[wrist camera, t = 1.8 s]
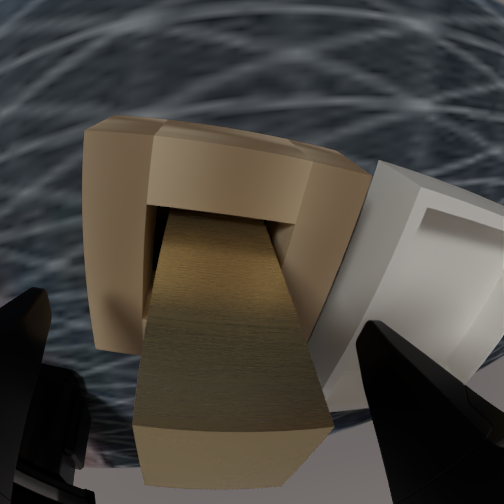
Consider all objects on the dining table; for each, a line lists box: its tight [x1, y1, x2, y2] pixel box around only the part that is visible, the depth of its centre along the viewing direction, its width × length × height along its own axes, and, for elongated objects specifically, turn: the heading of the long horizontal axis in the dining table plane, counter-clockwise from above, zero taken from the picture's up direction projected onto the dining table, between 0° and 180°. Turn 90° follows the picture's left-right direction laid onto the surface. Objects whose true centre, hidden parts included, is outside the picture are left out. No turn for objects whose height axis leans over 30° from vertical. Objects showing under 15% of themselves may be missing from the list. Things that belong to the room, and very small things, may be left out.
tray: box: [307, 160, 504, 412], centre depth 15 cm, size 12×12×3 cm
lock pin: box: [132, 207, 334, 489], centre depth 9 cm, size 3×3×9 cm
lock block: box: [82, 115, 372, 355], centre depth 11 cm, size 8×8×3 cm
